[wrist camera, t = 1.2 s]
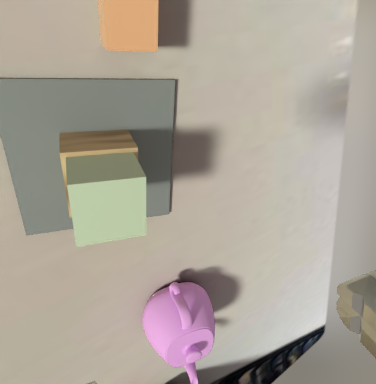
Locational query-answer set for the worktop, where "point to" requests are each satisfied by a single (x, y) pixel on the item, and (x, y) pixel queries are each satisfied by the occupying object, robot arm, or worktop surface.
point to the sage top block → (106, 197)
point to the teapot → (180, 325)
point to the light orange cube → (129, 25)
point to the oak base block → (93, 146)
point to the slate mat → (81, 122)
